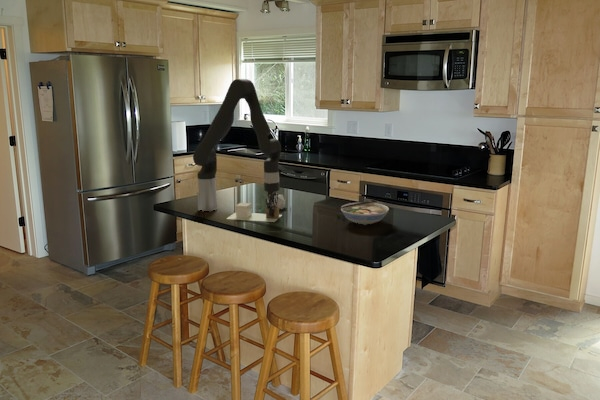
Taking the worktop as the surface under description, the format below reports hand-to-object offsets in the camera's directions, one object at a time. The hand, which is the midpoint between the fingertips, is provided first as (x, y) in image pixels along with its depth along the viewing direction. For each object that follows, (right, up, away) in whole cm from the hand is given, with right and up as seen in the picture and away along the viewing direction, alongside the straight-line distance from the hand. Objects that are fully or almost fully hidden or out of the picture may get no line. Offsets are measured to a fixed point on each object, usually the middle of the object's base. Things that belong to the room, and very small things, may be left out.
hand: (272, 215), depth 254 cm
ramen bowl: (+44, -4, -8) cm, 45 cm away
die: (+2, +2, +19) cm, 19 cm away
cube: (-14, -1, +4) cm, 15 cm away
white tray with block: (-9, -1, +3) cm, 10 cm away
